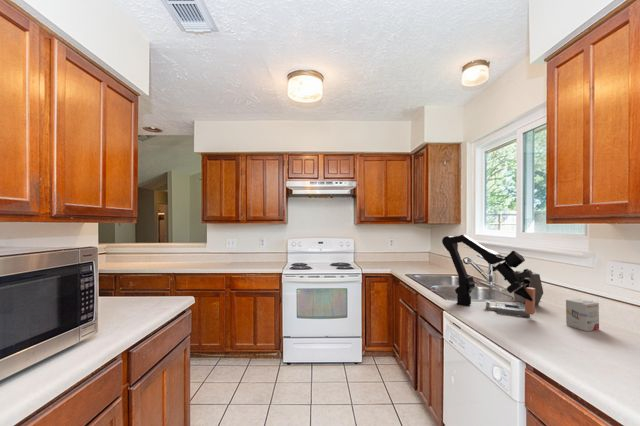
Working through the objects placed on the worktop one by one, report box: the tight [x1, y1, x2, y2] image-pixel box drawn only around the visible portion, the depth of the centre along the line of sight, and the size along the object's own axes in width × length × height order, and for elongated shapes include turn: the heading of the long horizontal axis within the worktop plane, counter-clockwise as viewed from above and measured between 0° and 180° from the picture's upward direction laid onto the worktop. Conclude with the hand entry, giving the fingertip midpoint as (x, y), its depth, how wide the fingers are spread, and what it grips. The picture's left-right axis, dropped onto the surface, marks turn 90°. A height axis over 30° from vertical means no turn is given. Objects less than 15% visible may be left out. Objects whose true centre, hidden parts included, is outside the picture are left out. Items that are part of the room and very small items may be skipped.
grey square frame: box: [495, 301, 531, 318], centre depth 162 cm, size 14×14×2 cm
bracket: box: [485, 300, 497, 312], centre depth 164 cm, size 5×2×4 cm, turn 62°
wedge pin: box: [524, 287, 536, 316], centre depth 150 cm, size 3×4×12 cm
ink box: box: [565, 298, 600, 332], centre depth 139 cm, size 9×9×12 cm
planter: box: [512, 270, 544, 306], centre depth 179 cm, size 17×8×21 cm
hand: (533, 300), depth 149 cm, fingers closed on wedge pin, 4 cm apart
